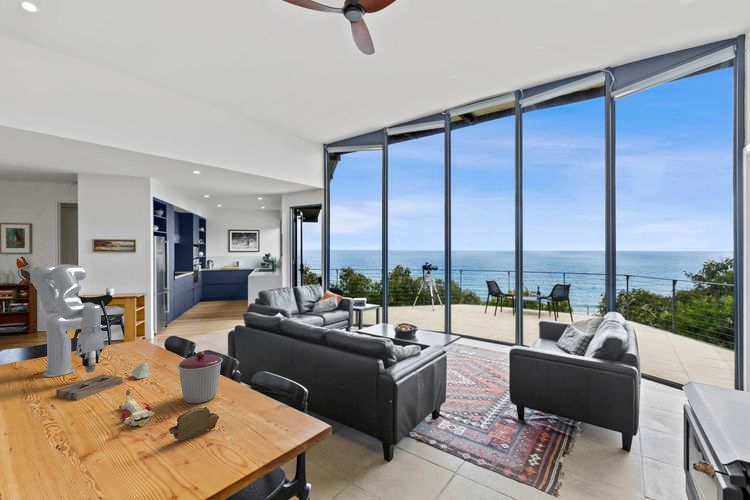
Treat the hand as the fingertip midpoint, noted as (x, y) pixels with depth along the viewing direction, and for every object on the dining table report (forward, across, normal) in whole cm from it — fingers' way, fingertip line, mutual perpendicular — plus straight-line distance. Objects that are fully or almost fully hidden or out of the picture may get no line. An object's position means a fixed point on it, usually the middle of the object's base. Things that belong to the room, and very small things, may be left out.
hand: (90, 364), depth 174 cm
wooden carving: (+5, +25, +93) cm, 96 cm away
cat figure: (+7, +21, +59) cm, 63 cm away
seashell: (+8, -11, +20) cm, 24 cm away
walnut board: (+8, +8, +13) cm, 17 cm away
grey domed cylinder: (+4, 0, 0) cm, 4 cm away
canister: (+6, 0, +71) cm, 71 cm away
